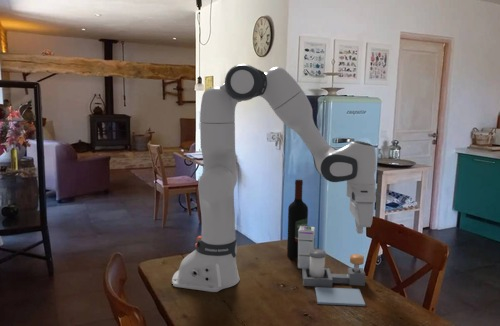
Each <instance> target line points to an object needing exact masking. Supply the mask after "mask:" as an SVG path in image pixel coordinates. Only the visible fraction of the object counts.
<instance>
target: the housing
mask: <svg viewBox="0 0 500 326" xmlns="http://www.w3.org/2000/svg"><path fill="white" fill-rule="evenodd" d="M330 269H331V268H329V267H328V268H326V267H325V272H324V278H312V277H309V270H310V268H309V267H302V269H301V278H302V286H303V287H305V286H306V287H324V288H333V284H346V285H347V284H348V285H349V286H363V287H364V286H365V285H366V284H365V283H366V272H365V269H364V267H359V272H354V267H347V272H346V273H331V270H330Z"/></svg>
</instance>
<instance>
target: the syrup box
mask: <svg viewBox="0 0 500 326" xmlns="http://www.w3.org/2000/svg"><path fill="white" fill-rule="evenodd" d="M315 231H316V227H315V226H311V225H307V226H300V227H299V230H298V259H297V268H298V269H301V270H302V267H309V268H310V255H309V253H310V250H313V249H316V248H315V247H316V246H315V245H316V241H315V239H316V238H315V237H316V235H315V233H316V232H315Z"/></svg>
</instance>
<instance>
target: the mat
mask: <svg viewBox="0 0 500 326" xmlns="http://www.w3.org/2000/svg"><path fill="white" fill-rule="evenodd" d="M314 290H315V297H316V302H317V304H318V305H332V306H333V305H334V306H353V307H354V306H356V307H366V302H365V300H364V298H363V294H362V293H361V289H360V288H343V287H317V286H314Z"/></svg>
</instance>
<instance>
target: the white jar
mask: <svg viewBox="0 0 500 326" xmlns="http://www.w3.org/2000/svg"><path fill="white" fill-rule="evenodd" d="M309 255H310V270H309V276H308V277H312V278H325V276H324V272H325V268H326V267H325V266H326V256H327V253H326V251H325V250H322V249H316V248H315V249H313V250H310V253H309Z"/></svg>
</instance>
